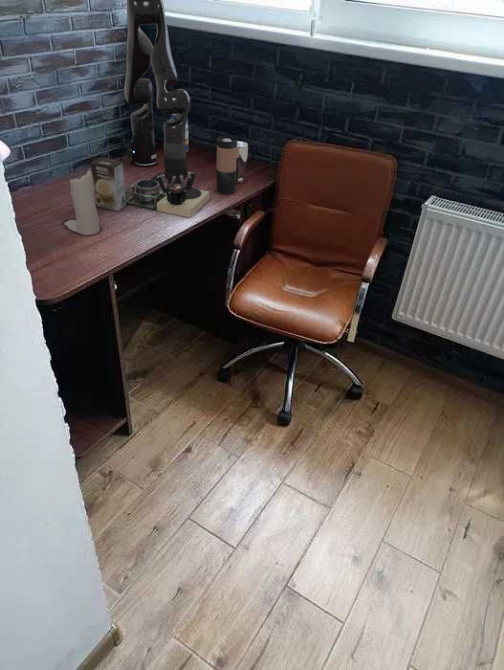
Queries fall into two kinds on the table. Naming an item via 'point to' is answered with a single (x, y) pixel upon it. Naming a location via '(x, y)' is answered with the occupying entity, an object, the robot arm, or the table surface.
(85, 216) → the candle
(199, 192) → the burner
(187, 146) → the beverage bottle
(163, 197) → the dish rack
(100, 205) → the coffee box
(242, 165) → the beer glass
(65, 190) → the table surface
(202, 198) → the plate
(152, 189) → the saucepan
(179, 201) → the dial
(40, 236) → the table surface
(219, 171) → the travel mug
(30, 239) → the table surface
